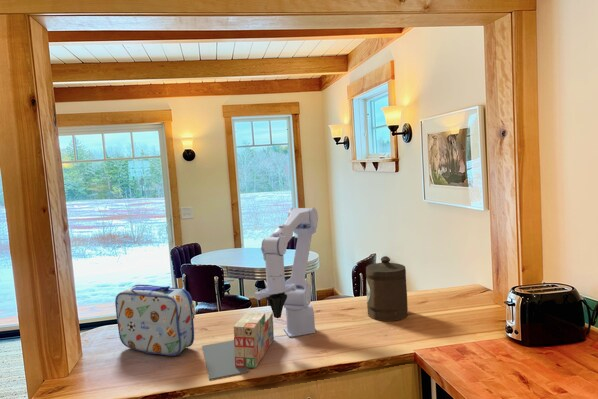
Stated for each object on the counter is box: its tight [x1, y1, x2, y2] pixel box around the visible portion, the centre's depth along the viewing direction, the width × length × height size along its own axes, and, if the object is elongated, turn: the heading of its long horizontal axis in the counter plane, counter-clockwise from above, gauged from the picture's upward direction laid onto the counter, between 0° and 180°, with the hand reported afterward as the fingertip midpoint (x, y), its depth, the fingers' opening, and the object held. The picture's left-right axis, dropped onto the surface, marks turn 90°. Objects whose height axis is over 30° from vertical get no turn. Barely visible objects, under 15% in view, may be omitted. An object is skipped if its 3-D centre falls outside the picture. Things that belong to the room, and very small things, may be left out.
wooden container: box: [365, 255, 409, 322], centre depth 165 cm, size 15×15×22 cm
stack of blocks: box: [233, 311, 275, 369], centre depth 138 cm, size 21×6×12 cm, turn 169°
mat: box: [201, 339, 250, 381], centre depth 135 cm, size 11×24×1 cm, turn 17°
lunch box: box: [114, 284, 197, 357], centre depth 144 cm, size 28×10×22 cm, turn 68°
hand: (277, 317), depth 139 cm, fingers closed
